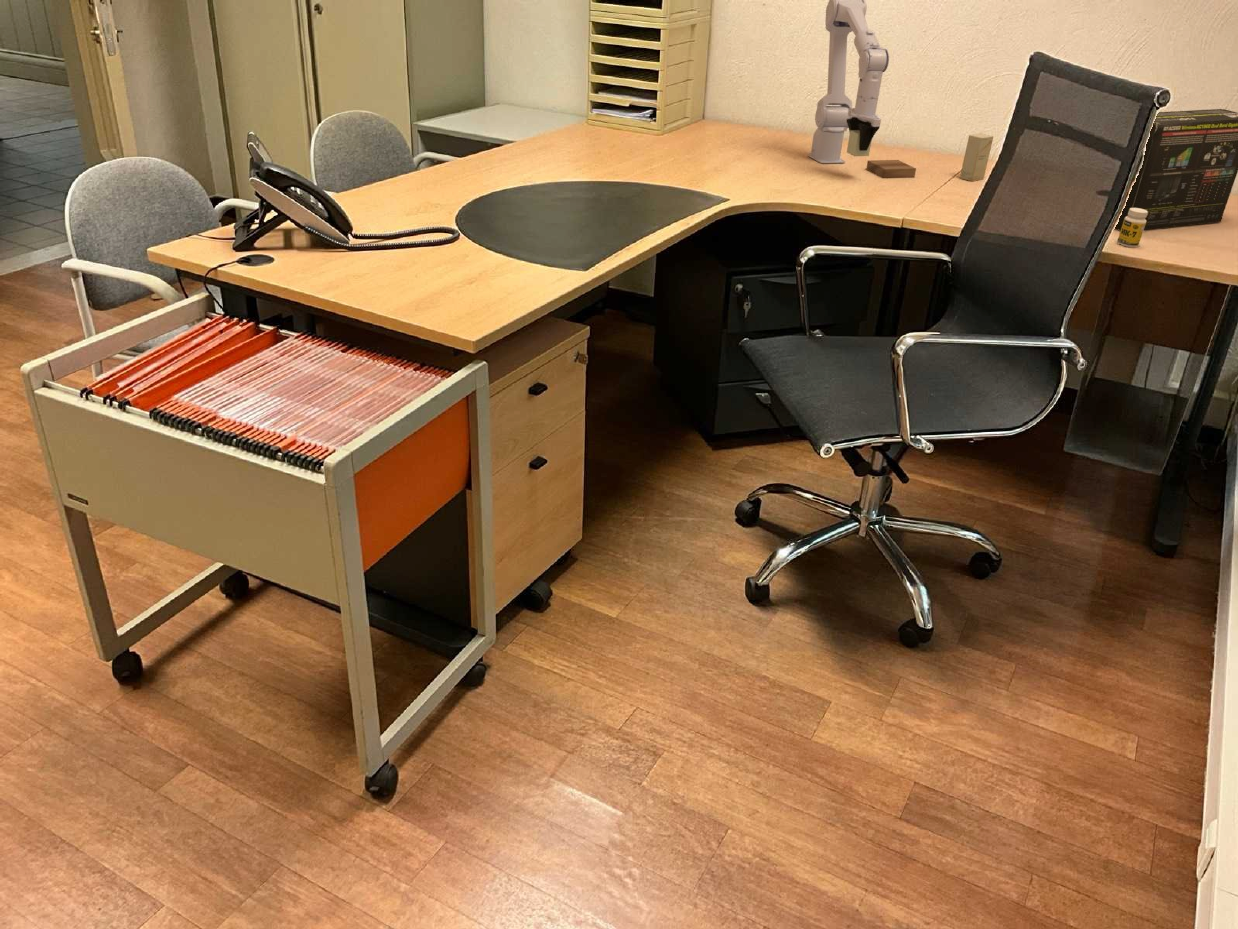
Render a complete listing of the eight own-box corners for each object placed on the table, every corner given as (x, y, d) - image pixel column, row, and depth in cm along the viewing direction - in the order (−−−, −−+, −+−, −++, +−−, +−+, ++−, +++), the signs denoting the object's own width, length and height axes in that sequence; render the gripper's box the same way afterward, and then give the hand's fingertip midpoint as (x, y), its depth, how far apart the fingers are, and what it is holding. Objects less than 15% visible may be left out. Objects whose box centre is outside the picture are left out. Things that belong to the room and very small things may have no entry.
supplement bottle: (1113, 243, 236) (1124, 209, 232) (1121, 240, 239) (1132, 205, 235) (1133, 249, 233) (1145, 214, 229) (1141, 245, 236) (1152, 210, 232)
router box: (1186, 210, 266) (1222, 107, 252) (1222, 223, 257) (1261, 116, 243) (1088, 220, 253) (1120, 111, 239) (1122, 233, 244) (1158, 121, 230)
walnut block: (865, 170, 288) (867, 160, 286) (896, 170, 290) (898, 159, 289) (883, 179, 279) (885, 169, 278) (914, 179, 282) (916, 168, 281)
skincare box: (971, 181, 281) (982, 138, 275) (958, 178, 284) (968, 134, 278) (984, 179, 284) (994, 135, 278) (971, 175, 287) (980, 132, 281)
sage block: (846, 152, 275) (850, 130, 272) (860, 151, 277) (864, 129, 274) (854, 156, 272) (858, 133, 269) (868, 155, 273) (872, 133, 270)
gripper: (841, 91, 271) (833, 142, 278) (867, 102, 259) (858, 154, 266) (864, 91, 273) (855, 141, 280) (891, 101, 261) (881, 154, 268)
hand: (858, 148), depth 273 cm, fingers closed on sage block, 4 cm apart
